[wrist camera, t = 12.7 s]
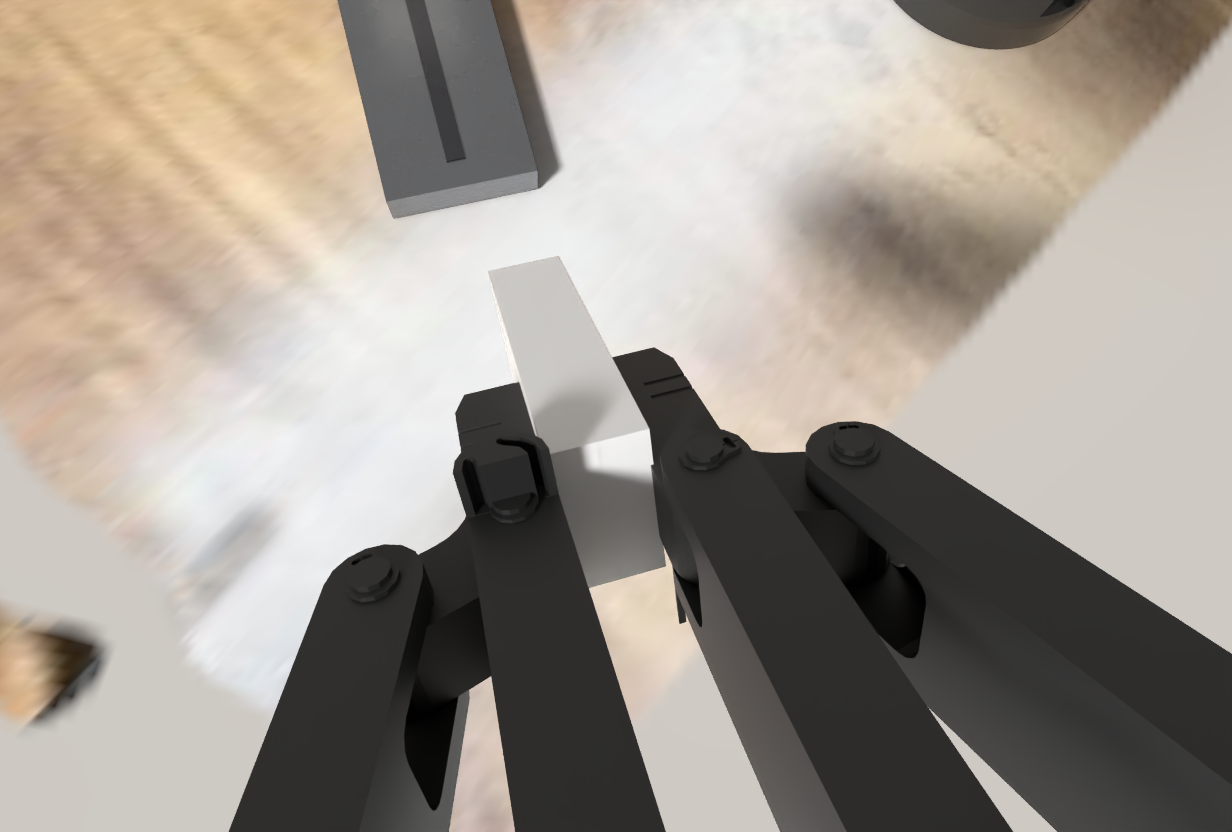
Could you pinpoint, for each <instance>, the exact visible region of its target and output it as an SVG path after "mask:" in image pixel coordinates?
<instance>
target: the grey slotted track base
mask: <svg viewBox="0 0 1232 832" xmlns="http://www.w3.org/2000/svg"><path fill="white" fill-rule="evenodd" d="M338 4H339V8H340V12H341V17H342V21H343V25H344V29H345V33H346V37H347V41H348V45H349V50H350V54H351V58H352V62H353V66H354V70H355V74H356V78H357V83H358V87H359V91H360V95H361V99H362V103H363V107H364V111H365V116H366V120H367V124H368V128H369V132H370V136H371V140H372V145H373V149H374V153H375V157H376V161H377V165H378V169H379V173H380V178H381V182H382V186H383V190H384V194H385V198H386V202H387V204H388V207H389V209H390V212H391V214H392V216H393V219H394V218H399V217H404V216H409V215H414V214H419V213H423V212H428V211H433V210H438V209H443V208H447V207H452V206H457V205H462V204H467V203H471V202H476V201H481V200H486V199H491V198H495V197H500V196H505V195H510V194H515V193H519V192H524V191H529V190H534V189H538V170H537V166H536V163H535V159H534V156H533V152H532V148H531V145H530V141H529V138H528V134H527V130H526V127H525V123H524V120H523V116H522V112H521V109H520V105H519V102H518V98H517V94H516V91H515V87H514V84H513V80H512V76H511V73H510V69H509V66H508V62H507V58H506V55H505V51H504V48H503V44H502V40H501V37H500V33H499V30H498V26H497V22H496V19H495V15H494V12H493V8H492V4H491V1H490V0H338Z"/></svg>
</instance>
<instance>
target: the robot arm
mask: <svg viewBox="0 0 1232 832" xmlns="http://www.w3.org/2000/svg"><path fill="white" fill-rule="evenodd" d="M894 1H895V2H896V3H897V4H898V5H899V6H900V7H901V8H902V9H903V10H904V11H905V12H906V13H907V14H908V15H909V16H911V17H912V18H913V19H914V20H916V21H917V22H918V23H920V24H921V25H923V26H924V27H926V28H927V29H929V30H931V31H933V32H935V33H936V34H939V35H941V36H943V37H945V38H947V39H950V40H952V41H955V42H958V43H961V44H965V45H969V46H974V47H979V48H988V49H1008V48H1016V47H1022V46H1026V45H1030V44H1033V43H1036V42H1038V41H1041V40H1043V39H1045V38H1047V37H1049V36H1051V35H1052V34H1054V33H1055V32H1057V31H1058V30H1060V29H1061V28H1062V27H1063V26H1064V25H1065V24H1067V23H1068V22H1069V21H1070V20H1071V19H1072V18H1073V17H1074V15H1075V14H1076V13H1077V12H1078V11H1079V10H1080V9H1081V8H1082V7H1083V6H1084V5H1085V4H1086V3H1087V2H1088V1H1089V0H894ZM488 274H489V278H490V283H491V287H492V291H493V295H494V300H495V304H496V308H497V312H498V317H499V321H500V325H501V330H502V334H503V338H504V342H505V347H506V351H507V355H508V359H509V364H510V368H511V372H512V376H513V381H514V383H512V384H508V385H504V386H500V387H495V388H491V389H487V390H483V391H479V392H475V393H470V394H466V395H464V397H463V399H462V401H461V403H460V405H459V407H458V409H457V411H456V413H455V415H456V422H457V428H458V433H459V434H458V435H459V441H460V446H461V454H460V455H459V456H458V458H457V459H456V460H455V463H454V469H453V475H454V478H455V481H456V485H457V488H458V491H459V494H460V497H461V500H462V504H463V507H464V510H465V513H466V518H465V520H464V521H463V523H462V524H461V525H460V527H459V528H458V529H457V530H456V531H455V532H454V533H453V534H452V535H451V536H450V537H448V538H447V539H446V540H444V541H442V542H441V543H439V544H438V545H436V546H434V547H432V548H431V549H429V550H427V551H425V552H423V553H421V554H419V555H418V554H417V553H416V552H415V551H414V550H411V549H409V548H407V547H405V546H402V545H385V544H384V545H380V546H376V547H372V548H368V549H365V550H363V551H361V552H359V553H357V554H355V555H353V556H351V557H349V558H347V559H346V560H345V561H344V562H343V563H341V564H340V565H339V566H338V567H337V568H336V569H334V570H333V571H332V573H331V575H330V576H329V578H328V579H327V581H326V583H325V584H324V586H323V589H322V591H321V594H320V596H319V599H318V601H317V604H316V607H315V609H314V612H313V614H312V617H311V620H310V622H309V625H308V627H307V630H306V633H305V635H304V638H303V640H302V643H301V646H300V648H299V651H298V653H297V656H296V659H295V661H294V664H293V666H292V669H291V672H290V674H289V677H288V679H287V682H286V684H285V687H284V690H283V692H282V695H281V697H280V700H279V703H278V705H277V708H276V710H275V713H274V716H273V718H272V721H271V723H270V726H269V729H268V731H267V734H266V736H265V739H264V742H263V744H262V747H261V749H260V752H259V754H258V757H257V760H256V762H255V765H254V768H253V770H252V773H251V775H250V778H249V780H248V783H247V786H246V788H245V791H244V794H243V796H242V799H241V801H240V804H239V806H238V809H237V812H236V814H235V817H234V819H233V822H232V824H231V827H230V830H229V832H449V827H450V820H451V814H452V807H453V801H454V795H455V788H456V782H457V776H458V769H459V763H460V756H461V750H462V744H463V737H464V731H465V724H466V718H467V712H468V705H469V699H470V698H469V689H471V688H473V687H474V686H476V685H477V684H479V683H481V682H482V681H484V680H485V679H487V678H489V677H490V676H491V677H492V683H493V690H494V696H495V703H496V709H497V716H498V722H499V729H500V735H501V742H502V748H503V755H504V761H505V768H506V774H507V781H508V787H509V794H510V800H511V807H512V813H513V820H514V826H515V832H666V831H665V828H664V825H663V822H662V818H661V816H660V812H659V809H658V806H657V803H656V799H655V797H654V793H653V790H652V787H651V784H650V780H649V777H648V774H647V771H646V768H645V765H644V762H643V758H642V756H641V752H640V749H639V746H638V743H637V739H636V736H635V733H634V730H633V727H632V724H631V720H630V717H629V714H628V711H627V708H626V705H625V701H624V698H623V695H622V692H621V689H620V686H619V682H618V679H617V676H616V673H615V670H614V667H613V664H612V660H611V657H610V654H609V651H608V648H607V645H606V641H605V638H604V635H603V632H602V629H601V626H600V622H599V619H598V616H597V613H596V610H595V607H594V603H593V600H592V597H591V594H590V591H589V588H590V587H594V586H597V585H601V584H605V583H608V582H612V581H615V580H619V579H622V578H626V577H629V576H633V575H637V574H640V573H644V572H647V571H651V570H654V569H658V568H661V567H665V566H666V564H665V555H664V548H665V550H666V552H667V554H668V556H669V559H670V561H671V563H672V566H673V575H674V584H675V593H676V602H677V610H678V617H679V624H681V623H684V622H686V615H687V618H688V620H689V622H690V625H691V627H692V629H693V632H694V634H695V636H696V639H697V641H698V643H699V645H700V648H701V650H702V652H703V655H704V657H705V659H706V661H707V664H708V666H709V668H710V671H711V673H712V675H713V678H714V680H715V682H716V684H717V687H718V689H719V692H720V694H721V696H722V698H723V701H724V703H725V705H726V708H727V710H728V712H729V714H730V717H731V719H732V721H733V724H734V726H735V728H736V731H737V733H738V735H739V738H740V739H741V742H742V745H743V747H744V749H745V751H746V754H747V756H748V758H749V761H750V763H751V765H752V768H753V770H754V772H755V774H756V777H757V779H758V781H759V784H760V786H761V788H762V790H763V793H764V795H765V797H766V800H767V802H768V804H769V807H770V809H771V811H772V813H773V816H774V818H775V821H776V823H777V825H778V827H779V830H780V832H1013V831H1012V829H1011V828H1010V827H1009V825H1008V824H1007V822H1006V821H1005V819H1004V818H1003V817H1002V815H1001V813H1000V812H999V811H998V809H997V808H996V806H995V805H994V803H993V802H992V800H991V799H990V798H989V796H988V794H987V793H986V791H985V790H984V789H983V787H982V786H981V785H980V783H979V781H978V780H977V778H976V777H975V775H974V774H973V772H972V771H971V770H970V768H969V767H968V765H967V764H966V762H965V761H964V759H963V758H962V757H961V755H960V754H959V752H958V751H957V749H956V748H955V746H954V745H953V743H952V742H951V740H950V739H949V737H948V736H947V735H946V733H945V732H944V730H943V729H942V727H941V726H940V724H939V723H938V721H937V720H936V719H935V717H934V716H933V714H932V713H931V711H930V710H929V708H930V709H931V710H932V711H933V712H934V713H935V714H936V715H937V716H938V717H939V718H940V719H941V720H942V721H943V722H944V723H945V724H946V725H947V726H948V727H949V728H950V729H951V730H953V731H954V732H955V733H956V734H957V735H958V736H959V737H960V738H961V739H962V740H963V741H964V742H965V743H966V744H967V745H968V746H969V747H970V748H971V749H972V750H973V751H974V752H975V753H976V754H977V755H979V756H980V757H981V758H982V759H983V760H984V761H985V762H986V763H987V764H988V765H989V766H990V767H991V768H992V769H993V770H994V771H995V772H996V773H997V774H998V775H999V776H1000V777H1001V778H1002V779H1004V781H1005V782H1007V784H1009V785H1010V786H1011V787H1012V788H1013V789H1014V790H1015V791H1016V792H1017V793H1018V794H1019V795H1020V796H1021V797H1022V798H1023V799H1024V800H1025V801H1026V802H1027V803H1028V804H1029V805H1030V806H1031V807H1033V809H1035V810H1036V811H1037V812H1038V813H1039V814H1040V815H1041V816H1042V817H1043V818H1044V819H1045V820H1046V821H1047V822H1048V823H1049V824H1050V825H1051V826H1052V827H1053V828H1054V829H1055V830H1056V831H1057V832H1232V654H1231V653H1230V652H1228V651H1226V650H1225V649H1223V648H1222V647H1220V646H1219V645H1217V644H1215V643H1214V642H1213V641H1211V640H1209V639H1208V638H1206V637H1205V636H1203V635H1202V634H1200V633H1199V632H1197V631H1196V630H1194V629H1192V628H1191V627H1189V626H1188V625H1186V624H1185V623H1183V622H1182V621H1180V620H1179V619H1177V618H1176V617H1174V616H1172V615H1171V614H1169V613H1168V612H1166V611H1164V610H1163V609H1162V608H1160V607H1158V606H1157V605H1155V604H1154V603H1152V602H1151V601H1149V600H1148V599H1146V598H1145V597H1143V596H1142V595H1140V594H1139V593H1137V592H1135V591H1134V590H1132V589H1131V588H1129V587H1128V586H1126V585H1125V584H1123V583H1121V582H1120V581H1118V580H1117V579H1115V578H1114V577H1112V576H1111V575H1109V574H1107V573H1106V572H1105V571H1103V570H1102V569H1100V568H1098V567H1097V566H1095V565H1094V564H1092V563H1091V562H1089V561H1087V560H1086V559H1084V558H1083V557H1081V556H1080V555H1078V554H1077V553H1075V552H1073V551H1072V550H1071V549H1069V548H1067V547H1066V546H1064V545H1063V544H1061V543H1060V542H1058V541H1057V540H1055V539H1053V538H1052V537H1051V536H1049V535H1047V534H1046V533H1044V532H1043V531H1041V530H1040V529H1038V528H1037V527H1035V526H1034V525H1032V524H1030V523H1029V522H1027V521H1026V520H1024V519H1023V518H1021V517H1020V516H1018V515H1017V514H1015V513H1013V512H1012V511H1011V510H1009V509H1007V508H1006V507H1004V506H1003V505H1001V504H1000V503H998V502H997V501H995V500H994V499H992V498H990V497H989V496H987V495H986V494H984V493H983V492H981V491H980V490H978V489H977V488H975V487H973V486H972V485H970V484H969V483H967V482H966V481H964V480H963V479H961V478H960V477H958V476H957V475H955V474H953V473H952V472H950V471H949V470H947V469H946V468H944V467H943V466H941V465H940V464H938V463H937V462H935V461H933V460H932V459H930V458H929V457H927V456H926V455H924V454H923V453H921V452H920V451H918V450H916V449H915V448H913V447H912V446H910V445H909V444H907V443H906V442H904V441H903V440H901V439H900V438H898V437H896V436H895V435H893V434H892V433H890V432H889V431H886V430H884V429H882V428H880V427H878V426H875V425H873V424H867V423H862V422H856V421H855V422H837V423H833V424H830V425H827V426H823V427H821V428H820V429H818V430H817V431H816V432H814V433H813V434H811V436H810V438H809V440H808V442H807V444H806V452H787V453H767V452H759V451H753V450H751V448H750V447H749V445H748V444H747V443H746V442H745V441H744V440H742V439H741V438H740V437H739V436H738V435H736V434H733V433H731V432H728V431H725V430H721V429H720V428H719V427H718V425H717V424H716V422H715V421H714V419H713V418H712V416H711V414H710V413H709V411H708V410H707V408H706V407H705V405H704V404H703V402H702V401H701V399H700V398H699V396H698V395H697V393H696V392H695V390H694V389H692V386H691V384H690V383H689V381H688V380H687V378H686V376H685V377H684V374H683V372H682V370H681V369H680V367H679V366H678V364H677V363H676V361H675V360H674V358H672V357H670V356H669V355H667V354H665V353H663V352H661V351H659V350H658V349H656V348H650V349H645V350H641V351H637V352H633V353H629V354H625V355H620V356H616V357H612V356H611V354H610V353H609V351H608V349H607V347H606V345H605V343H604V341H603V339H602V337H601V335H600V333H599V332H598V330H597V328H596V326H595V324H594V322H593V320H592V318H591V316H590V314H589V312H588V311H587V309H586V307H585V305H584V303H583V301H582V299H581V297H580V295H579V293H578V291H577V290H576V288H575V286H574V284H573V282H572V280H571V278H570V276H569V274H568V272H567V270H566V268H565V267H564V265H563V263H562V261H561V259H560V257H559V256H556V257H551V258H547V259H542V260H538V261H533V262H528V263H524V264H519V265H515V266H510V267H506V268H501V269H496V270H492V271H488ZM663 545H664V547H663ZM685 613H686V615H685ZM927 706H928V707H929V708H928V707H927Z"/></svg>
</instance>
